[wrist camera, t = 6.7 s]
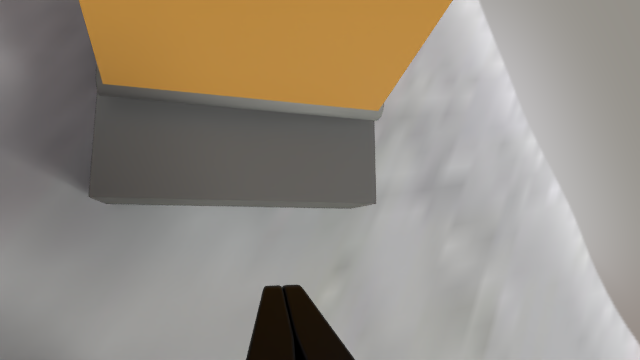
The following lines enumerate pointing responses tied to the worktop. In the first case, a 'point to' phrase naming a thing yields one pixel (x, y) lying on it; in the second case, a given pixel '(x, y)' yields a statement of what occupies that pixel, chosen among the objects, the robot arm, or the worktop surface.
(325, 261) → the worktop surface
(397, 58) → the orange square tile
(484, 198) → the worktop surface
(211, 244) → the worktop surface
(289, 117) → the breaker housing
